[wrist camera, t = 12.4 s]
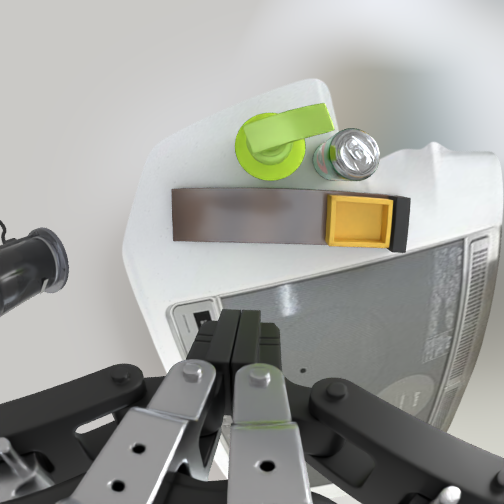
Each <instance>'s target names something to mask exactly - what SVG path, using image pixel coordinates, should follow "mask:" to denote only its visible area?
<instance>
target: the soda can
mask: <svg viewBox="0 0 504 504" xmlns="http://www.w3.org/2000/svg"><path fill="white" fill-rule="evenodd" d="M379 158H380V154H379V148H378V146H377V144H376V142H375V140H374V139H373V138H372V137H371V136H370V135H369V134H367V133H366V132H364V131H362V130H359V129H355V128H348V129H344V130H342V131H340V132H338V133H337V134H335V135H334V136H333V137H331V138H330V139H328V140H327V141H326V142H324V143H323V144H321V145H320V146H319V147H318V148H317V149H316V151H315V153H314V156H313V164H314V167H315V169H316V171H317V173H318V174H319V175H320V176H322V177H323V178H325V179H327V180H337V181H361V180H364V179H367V178H368V177H370V176H371V175H372V174H373V173H374V172H375V171H376V169H377V167H378V164H379Z"/></svg>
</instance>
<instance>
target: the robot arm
mask: <svg viewBox="0 0 504 504" xmlns="http://www.w3.org/2000/svg"><path fill="white" fill-rule="evenodd" d="M0 225H1V227H2V229H3V232H2V236H1V238H2V242H3V245H1V246H0V317H1V316H2V315H4V314H6V313H7V312H9V311H10V310H12V309H14V308H15V307H17V306H19V305H20V304H22V303H23V302H25V301H27V300H28V299H30V298H32V297H34V296H35V295H37V294H39V293H40V292H41V293H42V292H44V290H46V289H47V288H50V287H52V286H54V285H55V284H56V283H57V281H58V279H59V276H60V263H59V258H58V255H57V252H56V250H55V248H54V246H53V245H52V244H51V242H50V241H49V240H48V239H46V238H45V237H43V236H36V237H34V236H32V235H30V236H27V237H24V238H21V239H18V240H16V239H15V238H12V239H9V240H7V241H6V240H5V233H6V227H5V225H4V224H3V223H2V221H1V220H0ZM260 322H261V310H242V313H241V310H231V309H222V311H221V314H220V317H219V320H218V321H210V320H209V321H207V322H206V323H205V324H203V325H202V326H201V327H200V329H199V331H198V333H197V336H196V338H195V341H194V342H193V344H192V347H191V349H190V351H189V353H188V356H187V358H186V360H184V361H181V362H178V363H176V364H175V365H174V366H172V368H171V369H170V370H169V372H168V374H167V375H166V376H163V377H151V378H150V377H149V378H144V377H143V373H142V371H141V370H140V369H139V368H138V367H136V366H134V365H131V364H117V365H113V366H111V367H108V368H105V369H102V370H100V371H97V372H95V373H92V374H89V375H86V376H84V377H81V378H78V379H75V380H73V381H70V382H67V383H64V384H61V385H58V386H55V387H53V388H50V389H47V390H44V391H41V392H38V393H35V394H32V395H29V396H25V397H22V398H19V399H16V400H12V401H9V402H6V403H2V404H0V504H337V503H335V502H333V501H332V500H330V499H329V498H326V497H324V496H322V495H320V494H317V493H314V492H312V491H311V490H310V485H309V480H308V474H307V469H306V464H305V461H306V462H307V463H308V464H309V465H311V466H312V467H313V468H314V469H316V470H317V471H318V472H319V473H321V474H322V475H323V476H324V477H326V478H327V479H328V480H330V481H331V482H332V483H334V484H335V485H336V486H338V487H339V488H340V489H342V490H343V491H345V492H346V493H347V494H349V495H350V496H352V497H353V498H355V499H356V500H357V501H359V502H361V503H362V504H504V458H502V457H499V456H497V455H495V454H492V453H490V452H488V451H485V450H483V449H481V448H478V447H476V446H474V445H472V444H469V443H467V442H465V441H463V440H461V439H459V438H456V437H454V436H452V435H450V434H448V433H446V432H444V431H442V430H440V429H438V428H436V427H434V426H432V425H430V424H428V423H426V422H424V421H422V420H420V419H418V418H416V417H414V416H412V415H410V414H408V413H406V412H404V411H403V410H401V409H399V408H397V407H395V406H393V405H391V404H389V403H388V402H386V401H384V400H382V399H380V398H379V397H377V396H375V395H373V394H371V393H370V392H368V391H366V390H364V389H363V388H361V387H359V386H357V385H356V384H354V383H352V382H350V381H348V380H345V379H342V378H326V379H322V380H320V381H318V382H316V383H315V384H314V385H313V387H312V388H309V387H304V386H300V385H297V384H294V383H292V382H290V381H289V380H288V379H287V378H286V377H285V376H284V375H283V373H282V366H281V347H280V330H279V328H278V327H277V326H276V325H275V324H274V323H260ZM232 411H233V423H231V431H230V450H229V471H228V480H219V481H208V475H209V471H210V468H211V465H212V462H213V458H214V455H215V452H216V449H217V445H218V442H219V439H220V435H221V425H222V422H223V416H224V415H231V416H232ZM110 413H112V415H113V417H114V419H115V421H113V422H110V423H108V424H106V425H103V426H101V427H99V428H96V429H94V430H91V431H89V432H86V433H83V434H79V433H76V432H75V431H76V429H77V428H78V427H79V426H81V425H84V424H86V423H89V422H91V421H94V420H96V419H98V418H101V417H103V416H106V415H108V414H110Z"/></svg>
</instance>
